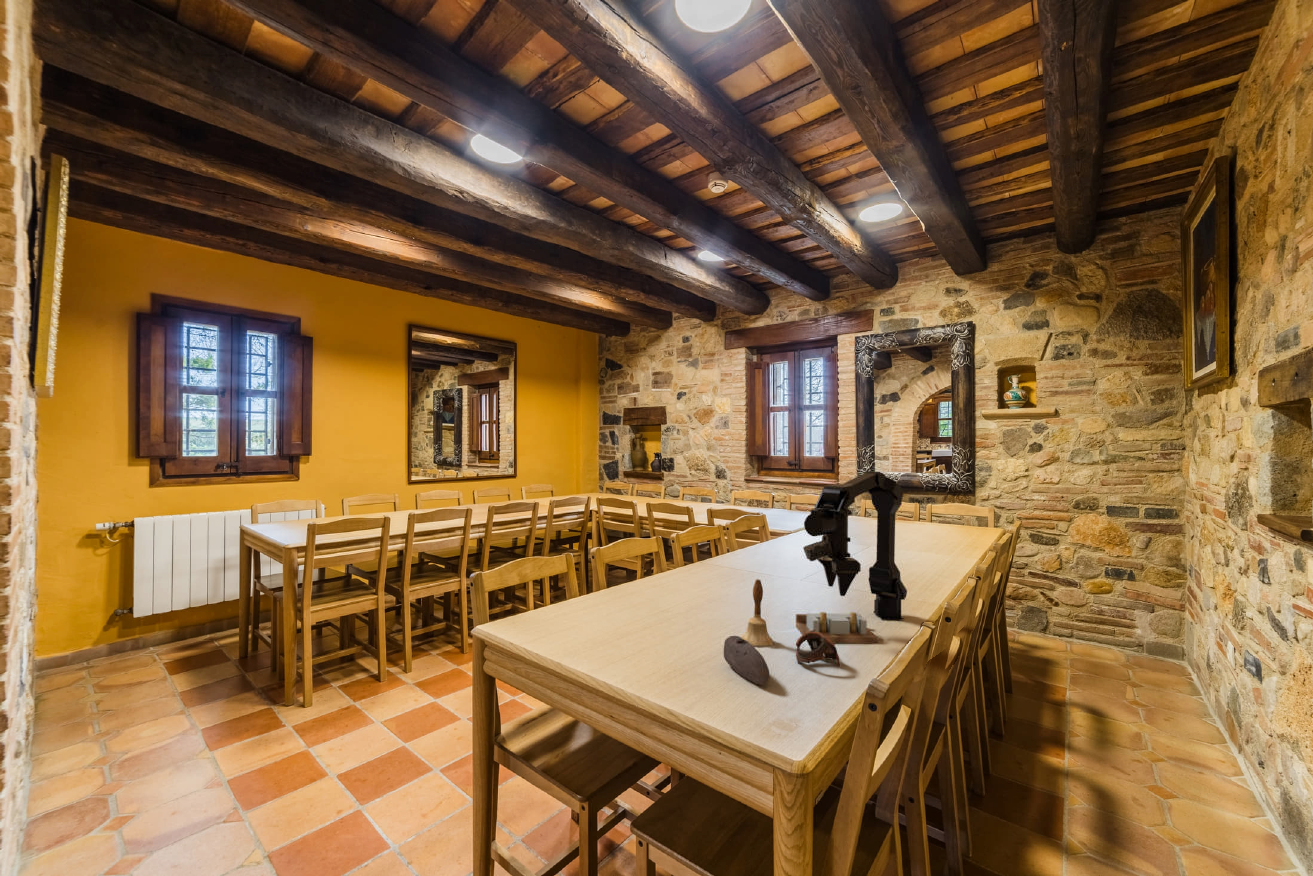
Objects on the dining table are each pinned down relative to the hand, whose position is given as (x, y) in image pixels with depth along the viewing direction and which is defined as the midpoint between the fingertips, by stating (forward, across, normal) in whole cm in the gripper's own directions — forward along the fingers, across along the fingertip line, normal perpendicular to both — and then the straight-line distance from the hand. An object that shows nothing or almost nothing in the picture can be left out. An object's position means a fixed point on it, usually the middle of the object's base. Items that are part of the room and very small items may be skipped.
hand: (836, 591), depth 143 cm
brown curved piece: (+12, +17, -10) cm, 24 cm away
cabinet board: (+12, -1, 0) cm, 12 cm away
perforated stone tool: (+12, +25, -28) cm, 40 cm away
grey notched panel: (+10, 0, 0) cm, 10 cm away
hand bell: (+12, +4, -22) cm, 25 cm away
